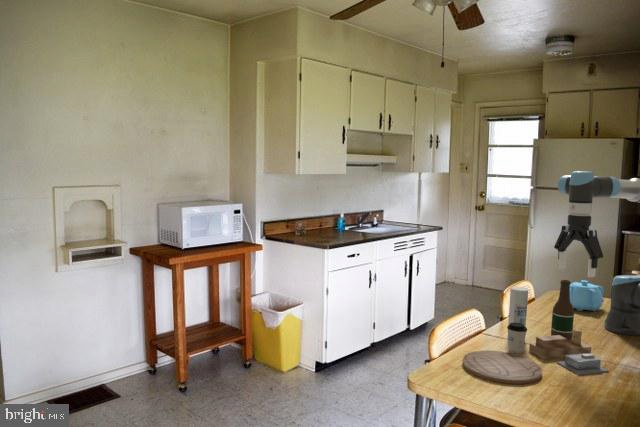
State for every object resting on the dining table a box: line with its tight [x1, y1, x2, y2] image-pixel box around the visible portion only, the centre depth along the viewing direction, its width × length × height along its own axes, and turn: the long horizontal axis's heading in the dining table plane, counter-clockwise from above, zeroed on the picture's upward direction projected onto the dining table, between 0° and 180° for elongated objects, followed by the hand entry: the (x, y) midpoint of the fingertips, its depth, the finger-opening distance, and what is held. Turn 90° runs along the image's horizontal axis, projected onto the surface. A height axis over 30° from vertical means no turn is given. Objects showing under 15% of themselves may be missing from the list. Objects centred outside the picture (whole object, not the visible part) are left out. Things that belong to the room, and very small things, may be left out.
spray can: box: [507, 286, 529, 328], centre depth 200 cm, size 6×6×20 cm
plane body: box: [528, 328, 592, 360], centre depth 186 cm, size 20×8×8 cm, turn 105°
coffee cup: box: [506, 323, 528, 355], centre depth 187 cm, size 7×7×10 cm
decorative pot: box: [570, 279, 605, 312], centre depth 247 cm, size 16×16×14 cm
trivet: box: [462, 350, 543, 386], centre depth 171 cm, size 25×25×2 cm
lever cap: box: [564, 353, 602, 371], centre depth 174 cm, size 9×6×4 cm, turn 105°
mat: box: [556, 360, 609, 376], centre depth 174 cm, size 12×10×1 cm
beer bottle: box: [550, 279, 575, 340], centre depth 199 cm, size 8×8×24 cm
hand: (576, 272), depth 186 cm, fingers open, 13 cm apart
